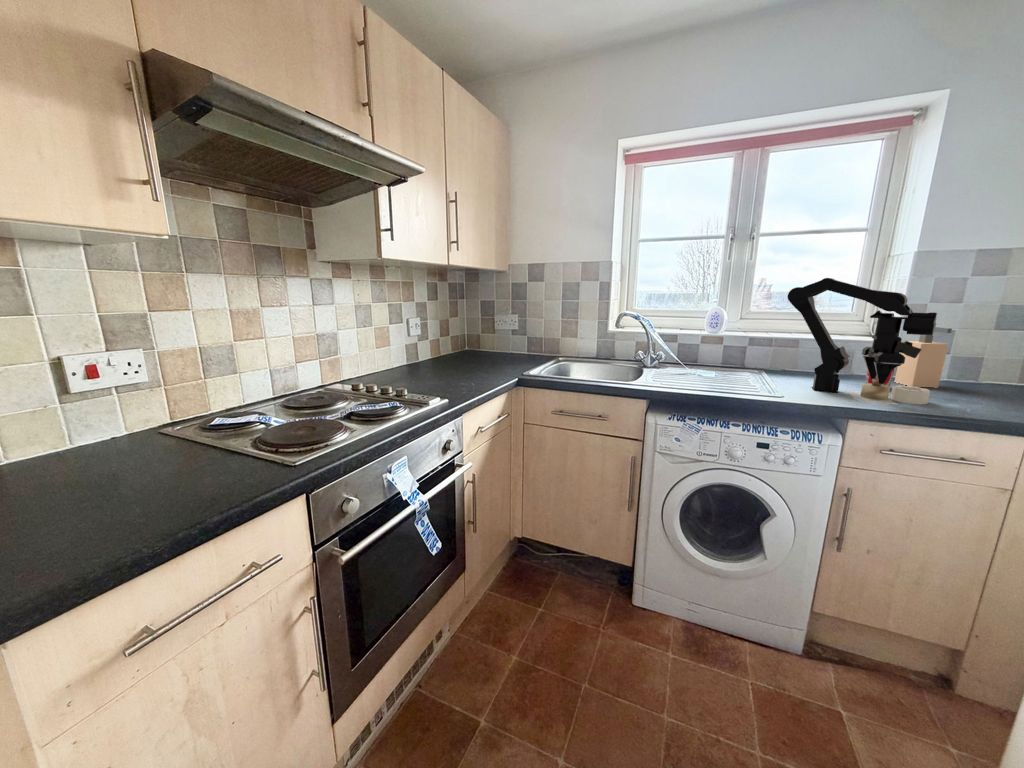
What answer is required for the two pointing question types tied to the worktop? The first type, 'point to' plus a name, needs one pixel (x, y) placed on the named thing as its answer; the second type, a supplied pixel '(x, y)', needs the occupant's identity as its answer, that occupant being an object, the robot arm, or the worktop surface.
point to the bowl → (910, 394)
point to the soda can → (870, 380)
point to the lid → (875, 391)
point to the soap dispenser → (924, 362)
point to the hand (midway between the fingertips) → (876, 380)
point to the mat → (858, 398)
